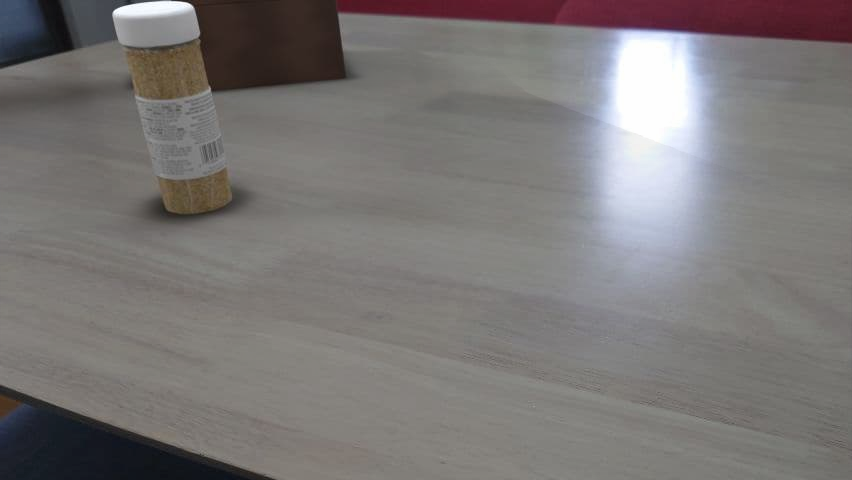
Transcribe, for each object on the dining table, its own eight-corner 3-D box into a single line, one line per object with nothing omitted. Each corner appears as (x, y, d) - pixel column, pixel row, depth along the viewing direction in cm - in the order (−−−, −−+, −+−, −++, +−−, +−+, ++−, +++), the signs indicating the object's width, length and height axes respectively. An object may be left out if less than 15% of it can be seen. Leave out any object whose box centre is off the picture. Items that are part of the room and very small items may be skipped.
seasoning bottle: (206, 197, 58) (160, -4, 51) (252, 210, 56) (210, 2, 49) (150, 221, 54) (93, 8, 48) (197, 235, 52) (144, 15, 46)
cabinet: (193, 103, 78) (170, -3, 74) (194, 72, 89) (174, -22, 84) (347, 88, 83) (334, -13, 78) (331, 60, 93) (319, -30, 88)
